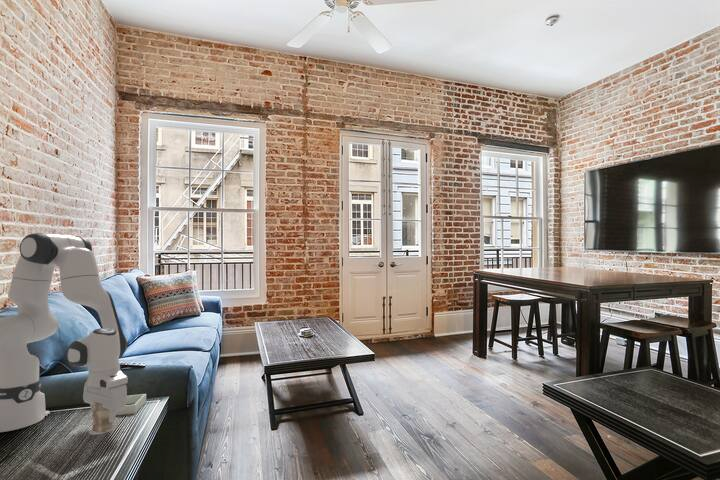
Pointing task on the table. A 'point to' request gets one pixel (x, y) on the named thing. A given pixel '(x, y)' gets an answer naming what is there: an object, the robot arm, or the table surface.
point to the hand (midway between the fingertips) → (103, 419)
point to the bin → (131, 409)
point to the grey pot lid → (103, 431)
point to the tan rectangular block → (101, 418)
